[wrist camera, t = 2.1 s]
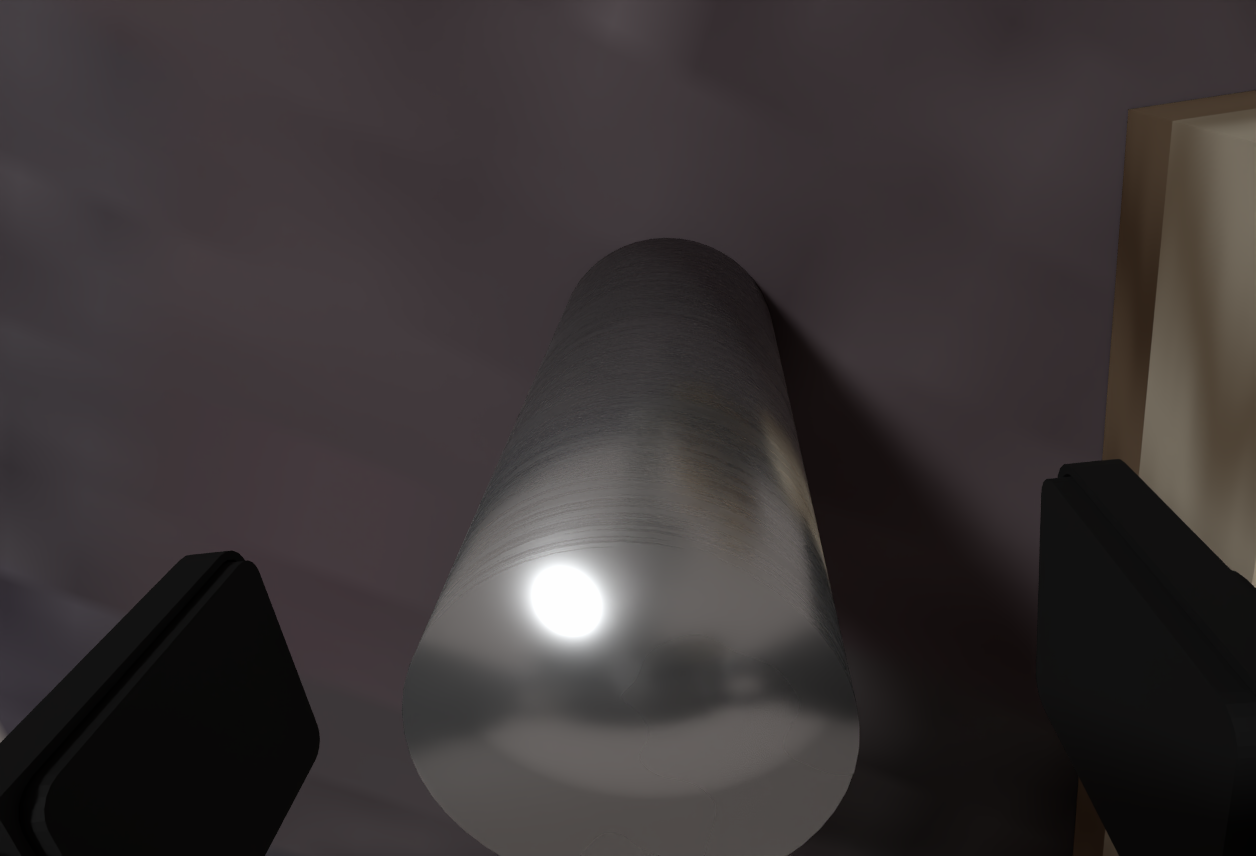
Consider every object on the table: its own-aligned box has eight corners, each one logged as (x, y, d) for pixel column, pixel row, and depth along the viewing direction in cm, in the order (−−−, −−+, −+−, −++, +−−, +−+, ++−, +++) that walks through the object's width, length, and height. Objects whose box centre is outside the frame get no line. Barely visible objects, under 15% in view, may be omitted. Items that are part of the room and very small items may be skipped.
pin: (542, 254, 16) (346, 571, 7) (762, 222, 16) (846, 523, 7) (582, 447, 18) (462, 901, 9) (782, 425, 17) (869, 886, 8)
